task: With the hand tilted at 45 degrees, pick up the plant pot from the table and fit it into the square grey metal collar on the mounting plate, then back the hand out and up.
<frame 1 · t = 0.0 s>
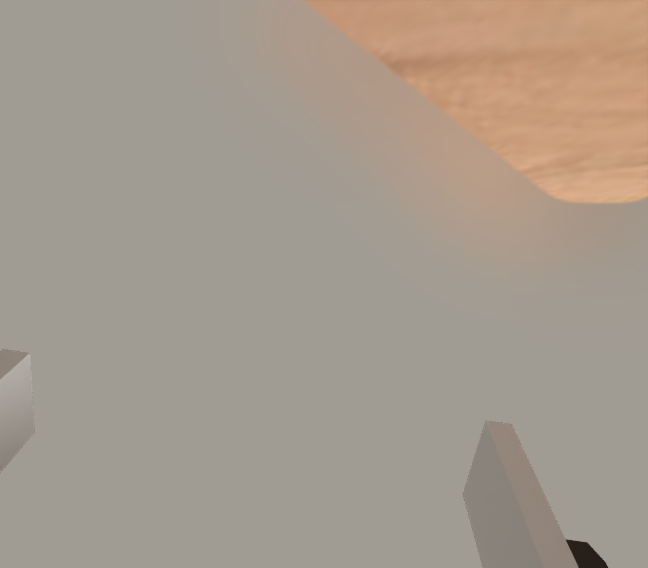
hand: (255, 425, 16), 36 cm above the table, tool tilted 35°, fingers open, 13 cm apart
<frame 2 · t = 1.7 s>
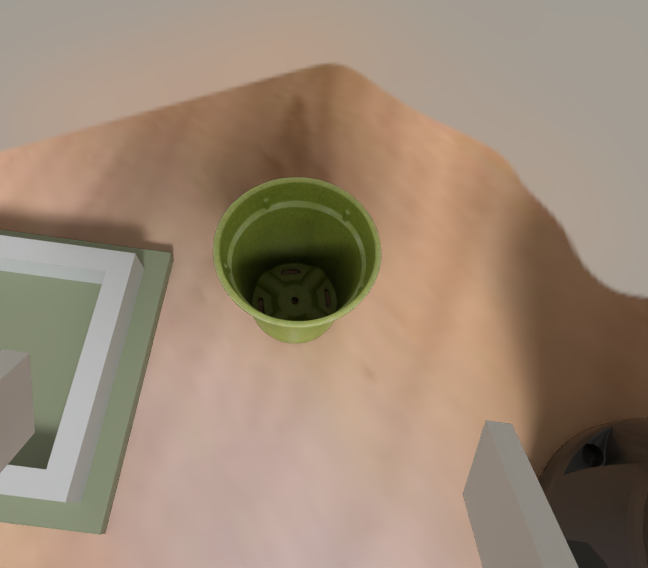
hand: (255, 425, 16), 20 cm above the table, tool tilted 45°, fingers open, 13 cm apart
plant pot: (294, 302, 39), on the table
chute mount: (4, 364, 35), on the table
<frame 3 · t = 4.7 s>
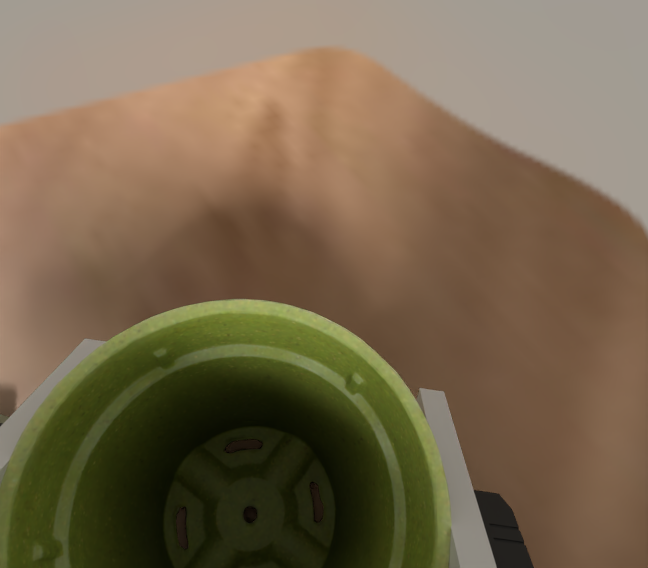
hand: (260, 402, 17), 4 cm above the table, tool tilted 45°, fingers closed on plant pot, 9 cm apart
plant pot: (251, 511, 19), on the table, touching gripper
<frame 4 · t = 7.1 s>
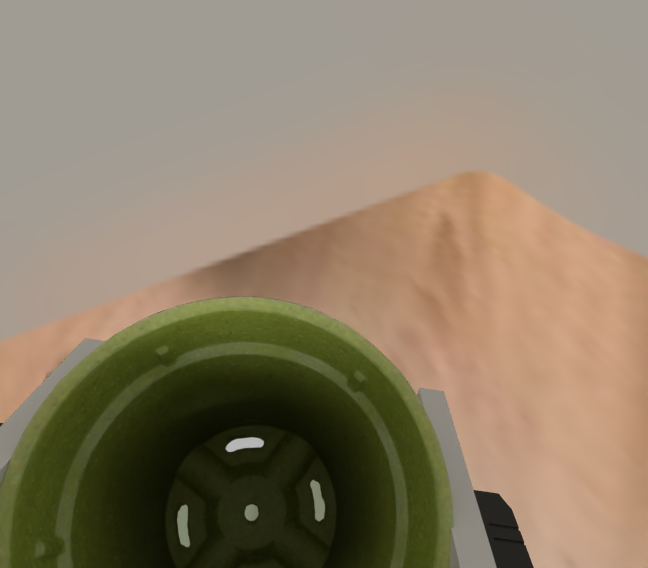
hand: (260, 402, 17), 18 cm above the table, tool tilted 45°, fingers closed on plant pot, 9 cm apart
plant pot: (252, 509, 19), point 14 cm above the table, touching gripper
chute mount: (158, 566, 31), on the table
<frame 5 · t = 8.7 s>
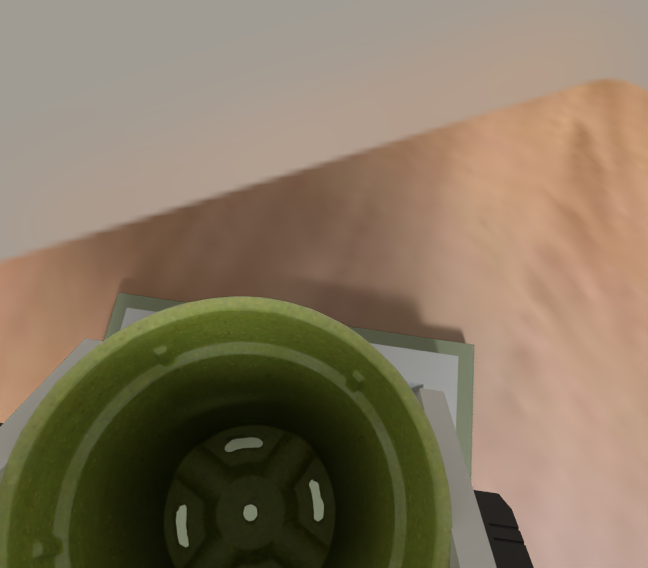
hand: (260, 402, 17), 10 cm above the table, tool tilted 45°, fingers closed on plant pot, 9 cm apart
plant pot: (251, 509, 19), point 6 cm above the table, touching gripper
chute mount: (266, 511, 25), on the table
when the fingers open (6 cm above the table, at t = 9.8 s): plant pot drops 1 cm, resting on chute mount.
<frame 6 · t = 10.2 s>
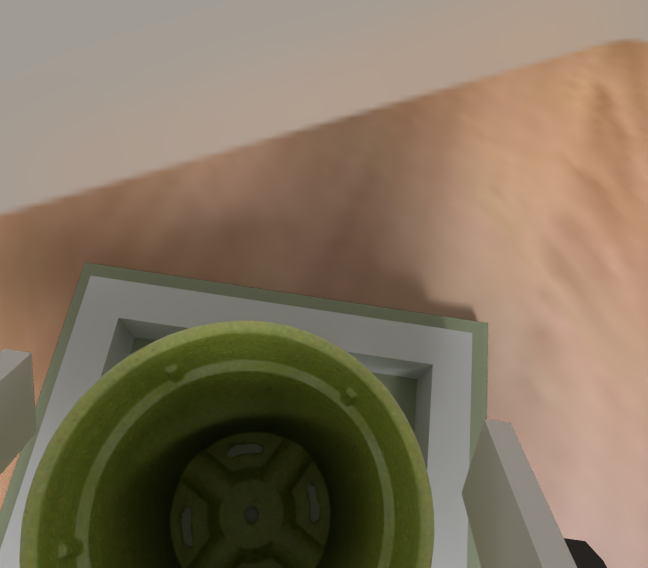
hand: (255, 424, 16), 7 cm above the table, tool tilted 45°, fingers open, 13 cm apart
plant pot: (251, 511, 21), point 1 cm above the table, touching chute mount
chute mount: (251, 511, 21), on the table
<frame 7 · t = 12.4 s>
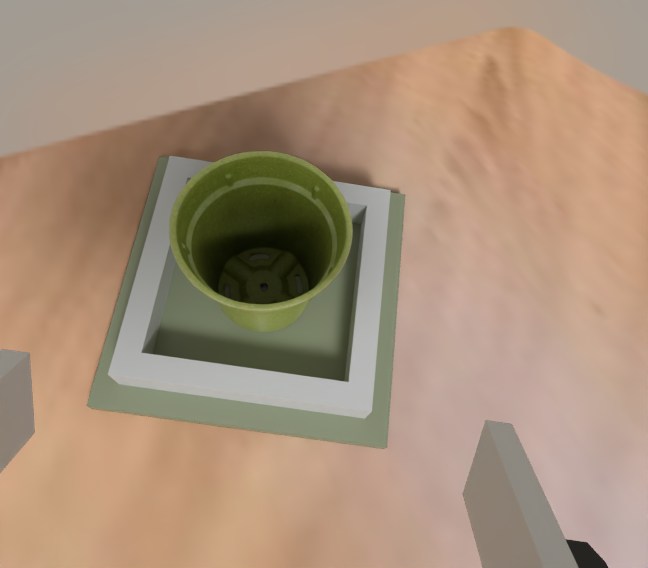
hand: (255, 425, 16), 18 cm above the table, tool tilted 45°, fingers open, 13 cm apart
plant pot: (263, 289, 36), point 1 cm above the table, touching chute mount
chute mount: (263, 294, 37), on the table
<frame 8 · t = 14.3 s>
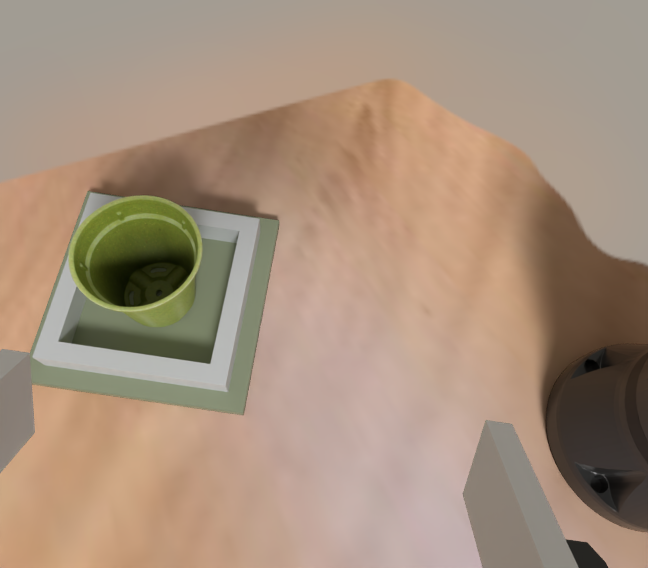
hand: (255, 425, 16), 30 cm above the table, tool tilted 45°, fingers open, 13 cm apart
plant pot: (160, 295, 47), point 1 cm above the table, touching chute mount
chute mount: (162, 298, 48), on the table
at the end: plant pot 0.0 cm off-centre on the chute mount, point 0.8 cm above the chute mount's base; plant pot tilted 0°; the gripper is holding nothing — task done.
